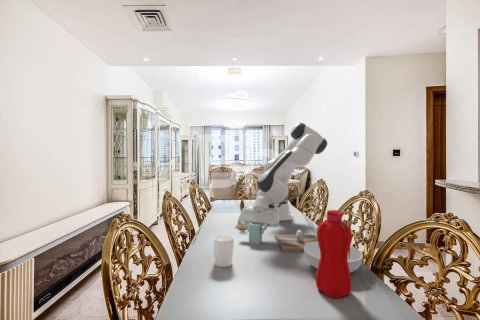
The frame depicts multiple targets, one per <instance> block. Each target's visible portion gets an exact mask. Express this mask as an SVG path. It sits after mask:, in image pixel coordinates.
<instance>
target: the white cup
mask: <svg viewBox="0 0 480 320" xmlns="http://www.w3.org/2000/svg"><path fill="white" fill-rule="evenodd" d="M234 238H235V237H234V236H232V235H229V234H228V235H227V234H218V235H215V236H214V237H213V238H212V241H213V257H214V261H213V262H214V265H215V266H217V267H219V268H227V267H230V266H232V265H233V257H234V256H233V255H234V240H235V239H234Z"/></svg>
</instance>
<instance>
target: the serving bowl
mask: <svg viewBox="0 0 480 320" xmlns="http://www.w3.org/2000/svg"><path fill="white" fill-rule="evenodd" d="M303 253H304V257H305V259H306V261H307V262H308V264H310V265H311V266H312V267H314V268H315V269H318V265H319V261H320V248H319V243H318V241H316V242H311V243H308V244H306V245H305V246H304V252H303ZM348 258H349V253H348ZM363 260H364V254H363V252H362V251H360V250H359V249H358V248H356V247H354V246H352V245H350V258H349V259H347V261H348V266H349V271H350V274H351V273H354V272H355V271H357V270H358V269H359V268H360V267H361V265H362V263H363Z"/></svg>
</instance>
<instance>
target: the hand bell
mask: <svg viewBox="0 0 480 320" xmlns="http://www.w3.org/2000/svg"><path fill="white" fill-rule="evenodd" d="M243 208H245V201H244V199H241V200H240V204H239V209H240V212H241V211H242V209H243ZM235 229H236V230H237V229H238V230H247V229H248V226H247V224H242V223H240V221H239V218H238V220H237V224H236V225H235Z"/></svg>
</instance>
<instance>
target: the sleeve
mask: <svg viewBox="0 0 480 320" xmlns="http://www.w3.org/2000/svg"><path fill="white" fill-rule="evenodd" d="M262 228H263V226H262V223H256V222H252V223H250V224H249V232H248V243H249V244H253V245H260V244H261V243H263V234H261V233H260V229H262Z"/></svg>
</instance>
